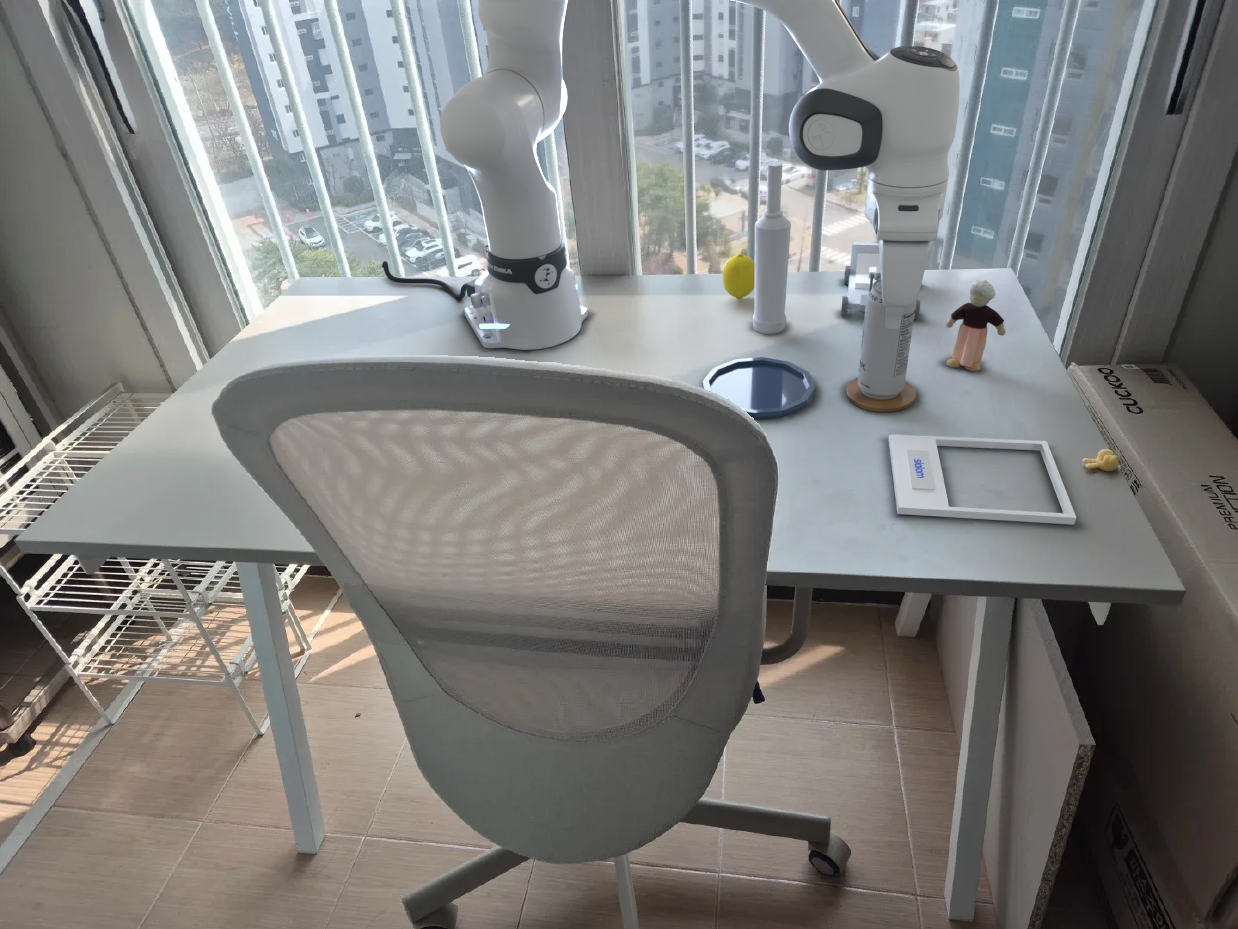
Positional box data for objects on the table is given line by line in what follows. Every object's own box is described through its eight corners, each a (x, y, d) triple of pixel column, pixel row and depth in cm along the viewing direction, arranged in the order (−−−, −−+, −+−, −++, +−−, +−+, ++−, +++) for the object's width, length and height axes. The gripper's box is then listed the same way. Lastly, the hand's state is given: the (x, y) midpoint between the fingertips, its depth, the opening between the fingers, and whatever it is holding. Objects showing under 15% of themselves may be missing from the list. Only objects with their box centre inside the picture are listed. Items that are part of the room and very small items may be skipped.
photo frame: (889, 433, 105) (1047, 439, 101) (888, 440, 105) (1044, 447, 102) (898, 505, 93) (1076, 516, 90) (897, 513, 94) (1074, 524, 90)
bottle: (785, 334, 131) (793, 169, 116) (751, 333, 132) (755, 169, 117) (786, 320, 135) (794, 158, 120) (753, 319, 136) (757, 158, 122)
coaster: (831, 392, 116) (832, 388, 116) (879, 371, 120) (879, 367, 119) (881, 419, 110) (882, 415, 109) (930, 397, 113) (930, 393, 113)
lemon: (723, 292, 145) (723, 247, 140) (756, 292, 144) (757, 246, 140) (721, 306, 140) (722, 260, 136) (756, 306, 140) (757, 259, 135)
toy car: (927, 268, 123) (845, 265, 126) (918, 330, 129) (839, 326, 132) (923, 224, 138) (849, 223, 140) (915, 282, 143) (844, 279, 146)
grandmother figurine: (938, 369, 119) (952, 284, 112) (939, 356, 122) (953, 272, 115) (997, 375, 117) (1016, 288, 109) (997, 362, 120) (1015, 277, 112)
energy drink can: (864, 375, 118) (876, 273, 109) (908, 384, 115) (924, 280, 107) (850, 396, 114) (861, 291, 105) (896, 405, 111) (910, 298, 102)
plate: (681, 387, 120) (681, 379, 119) (764, 354, 126) (764, 347, 125) (750, 432, 109) (751, 424, 109) (837, 395, 115) (837, 387, 115)
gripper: (874, 173, 109) (863, 276, 116) (878, 231, 92) (865, 345, 100) (926, 173, 107) (912, 277, 115) (940, 232, 91) (922, 347, 99)
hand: (890, 309), depth 108 cm, fingers open, 8 cm apart
